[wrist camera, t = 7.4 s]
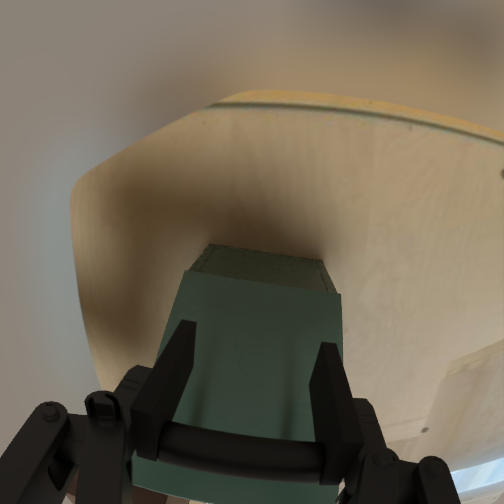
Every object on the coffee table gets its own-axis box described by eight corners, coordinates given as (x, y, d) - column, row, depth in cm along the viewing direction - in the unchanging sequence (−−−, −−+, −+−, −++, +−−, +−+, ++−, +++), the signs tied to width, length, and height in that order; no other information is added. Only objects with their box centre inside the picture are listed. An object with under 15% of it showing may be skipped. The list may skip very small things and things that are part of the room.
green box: (295, 375, 36) (298, 427, 27) (199, 361, 36) (180, 409, 28) (322, 260, 32) (338, 294, 23) (209, 243, 32) (186, 271, 24)
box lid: (332, 512, 13) (390, 516, 8) (126, 482, 13) (74, 471, 8) (338, 299, 23) (370, 230, 18) (185, 276, 24) (178, 200, 18)
